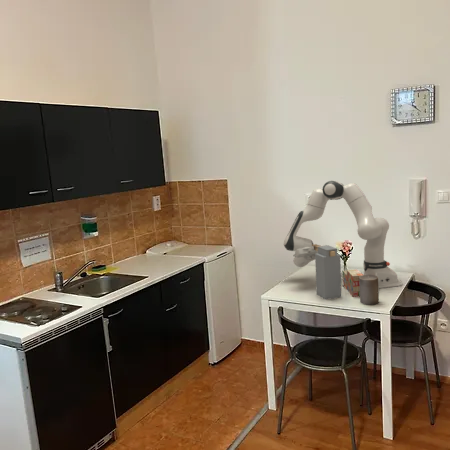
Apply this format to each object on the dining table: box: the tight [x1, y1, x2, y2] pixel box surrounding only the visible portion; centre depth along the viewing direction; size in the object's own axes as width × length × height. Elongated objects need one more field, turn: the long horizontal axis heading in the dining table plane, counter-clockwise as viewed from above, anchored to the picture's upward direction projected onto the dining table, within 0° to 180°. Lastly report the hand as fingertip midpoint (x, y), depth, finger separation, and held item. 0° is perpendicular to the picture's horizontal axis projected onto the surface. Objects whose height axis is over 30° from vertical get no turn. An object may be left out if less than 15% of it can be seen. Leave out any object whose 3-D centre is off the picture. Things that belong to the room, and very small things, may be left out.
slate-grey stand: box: [314, 244, 342, 300], centre depth 251 cm, size 10×10×28 cm
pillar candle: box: [359, 274, 380, 306], centre depth 238 cm, size 10×10×15 cm
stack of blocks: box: [342, 268, 364, 298], centre depth 259 cm, size 21×6×12 cm, turn 0°
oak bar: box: [312, 243, 335, 256], centre depth 254 cm, size 22×3×3 cm, turn 17°
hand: (316, 247), depth 261 cm, fingers closed on oak bar, 3 cm apart
